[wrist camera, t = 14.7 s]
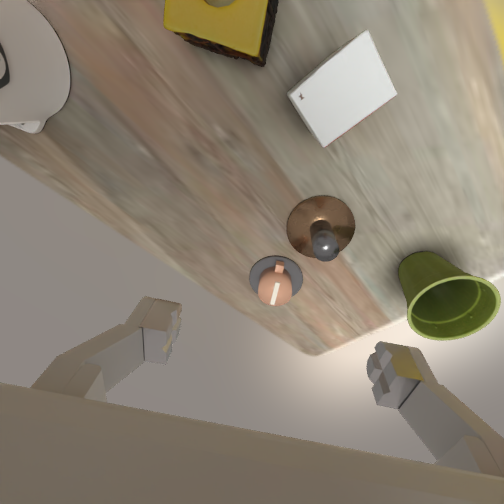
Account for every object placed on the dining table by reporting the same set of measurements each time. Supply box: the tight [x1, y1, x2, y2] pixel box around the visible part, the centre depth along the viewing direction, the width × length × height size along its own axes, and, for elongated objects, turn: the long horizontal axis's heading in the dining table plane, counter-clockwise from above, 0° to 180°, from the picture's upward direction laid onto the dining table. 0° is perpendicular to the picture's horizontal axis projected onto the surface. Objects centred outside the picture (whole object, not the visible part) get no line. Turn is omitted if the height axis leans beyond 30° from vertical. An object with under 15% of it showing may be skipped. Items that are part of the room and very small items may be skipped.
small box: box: [287, 30, 397, 148], centre depth 31 cm, size 8×6×13 cm
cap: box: [258, 261, 292, 306], centre depth 50 cm, size 9×6×4 cm, turn 171°
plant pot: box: [398, 251, 501, 340], centre depth 44 cm, size 12×12×11 cm
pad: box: [250, 256, 303, 297], centre depth 53 cm, size 10×10×1 cm
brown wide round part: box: [287, 196, 355, 261], centre depth 43 cm, size 11×11×8 cm
